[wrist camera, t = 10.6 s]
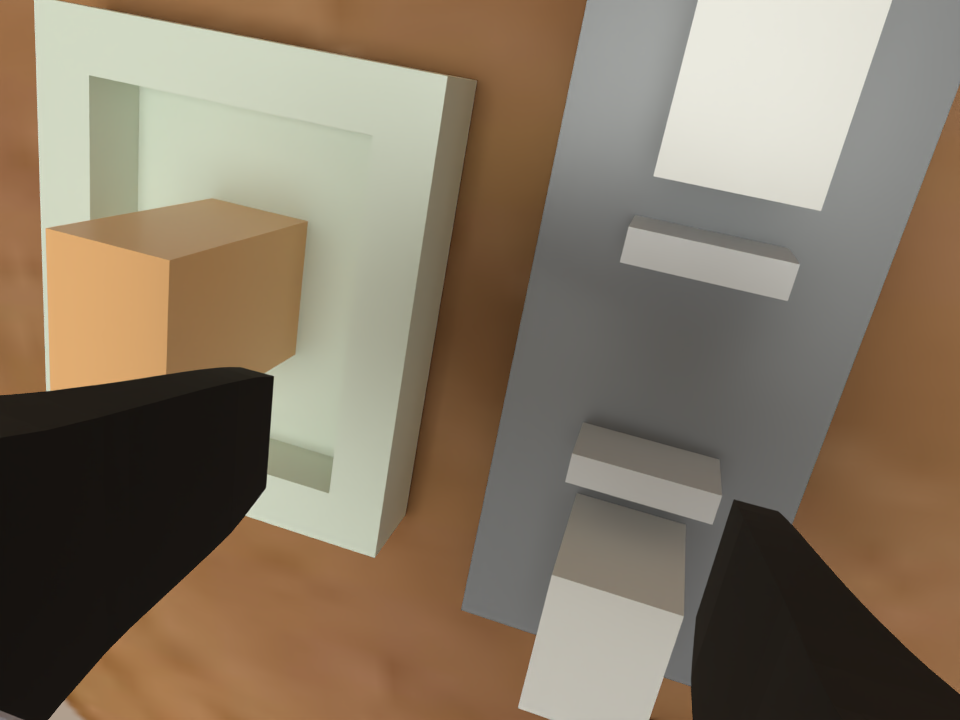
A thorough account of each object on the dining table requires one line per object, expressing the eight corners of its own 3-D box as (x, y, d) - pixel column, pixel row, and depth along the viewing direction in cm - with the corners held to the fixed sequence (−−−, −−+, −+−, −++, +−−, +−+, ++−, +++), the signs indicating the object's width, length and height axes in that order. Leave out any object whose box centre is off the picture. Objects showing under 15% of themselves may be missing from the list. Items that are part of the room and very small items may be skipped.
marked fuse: (295, 354, 22) (164, 434, 17) (205, 329, 23) (50, 399, 17) (307, 220, 21) (169, 260, 15) (212, 198, 21) (45, 227, 16)
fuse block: (724, 673, 22) (732, 818, 18) (469, 591, 24) (416, 704, 19) (987, -29, 16) (1109, -88, 11) (611, -84, 17) (581, -155, 13)
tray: (405, 514, 24) (374, 557, 21) (105, 421, 26) (48, 451, 23) (477, 80, 19) (447, 76, 17) (105, 8, 21) (34, -5, 19)
